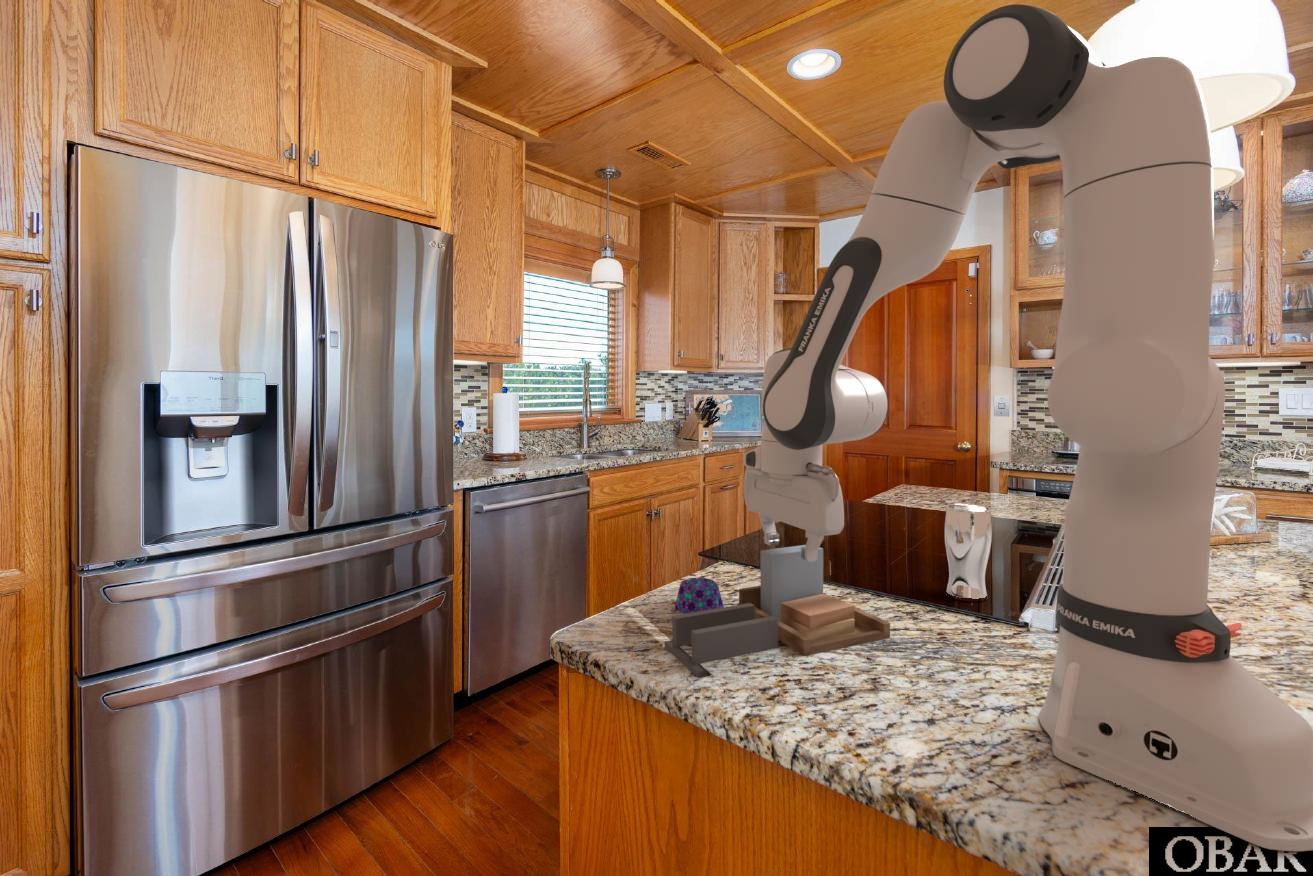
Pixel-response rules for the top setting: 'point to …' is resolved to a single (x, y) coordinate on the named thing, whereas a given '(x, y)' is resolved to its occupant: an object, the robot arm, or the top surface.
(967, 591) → the beer glass
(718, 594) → the purple rounded dome
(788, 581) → the gray rectangular block
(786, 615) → the offcut top
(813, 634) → the offcut low
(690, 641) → the holder
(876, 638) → the tray
